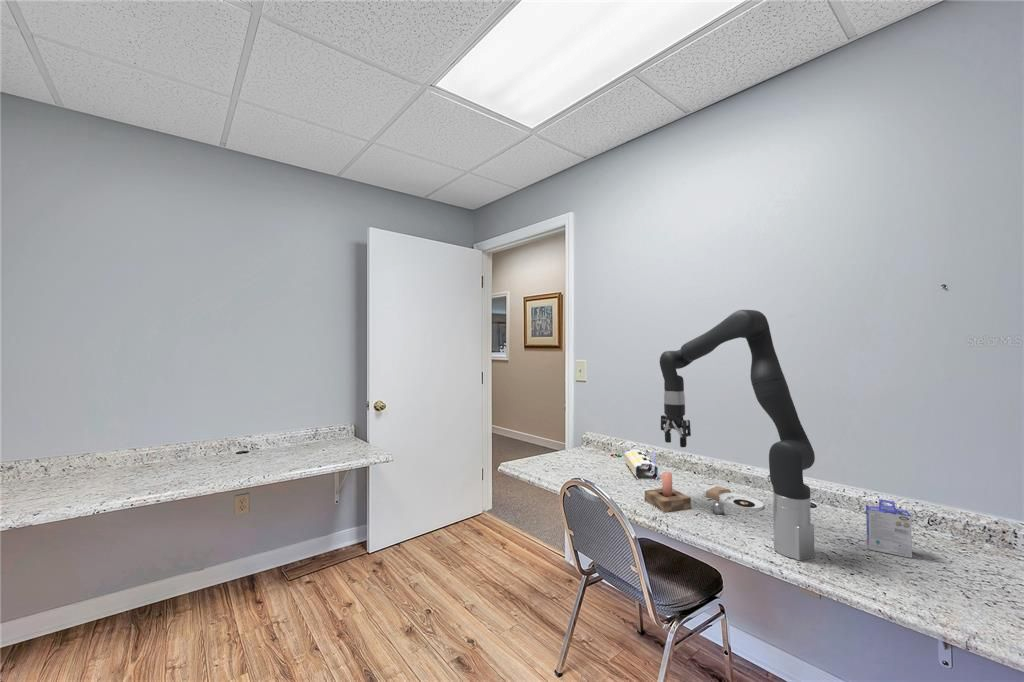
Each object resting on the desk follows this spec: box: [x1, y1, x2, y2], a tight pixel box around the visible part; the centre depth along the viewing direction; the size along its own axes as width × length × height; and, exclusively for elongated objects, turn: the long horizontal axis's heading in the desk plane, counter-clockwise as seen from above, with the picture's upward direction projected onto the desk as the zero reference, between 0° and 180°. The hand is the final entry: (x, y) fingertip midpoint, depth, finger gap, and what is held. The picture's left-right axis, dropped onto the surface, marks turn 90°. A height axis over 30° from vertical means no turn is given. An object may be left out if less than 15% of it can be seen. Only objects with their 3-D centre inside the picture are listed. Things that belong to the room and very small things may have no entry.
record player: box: [703, 485, 764, 512], centre depth 164 cm, size 12×3×20 cm
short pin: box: [712, 500, 725, 516], centre depth 152 cm, size 4×4×4 cm
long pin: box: [661, 471, 673, 497], centre depth 161 cm, size 4×4×12 cm
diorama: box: [623, 448, 659, 480], centre depth 202 cm, size 25×10×13 cm, turn 176°
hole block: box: [644, 488, 692, 513], centre depth 161 cm, size 12×12×4 cm
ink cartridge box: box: [865, 498, 913, 559], centre depth 125 cm, size 10×6×14 cm, turn 58°
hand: (675, 444), depth 160 cm, fingers open, 8 cm apart
